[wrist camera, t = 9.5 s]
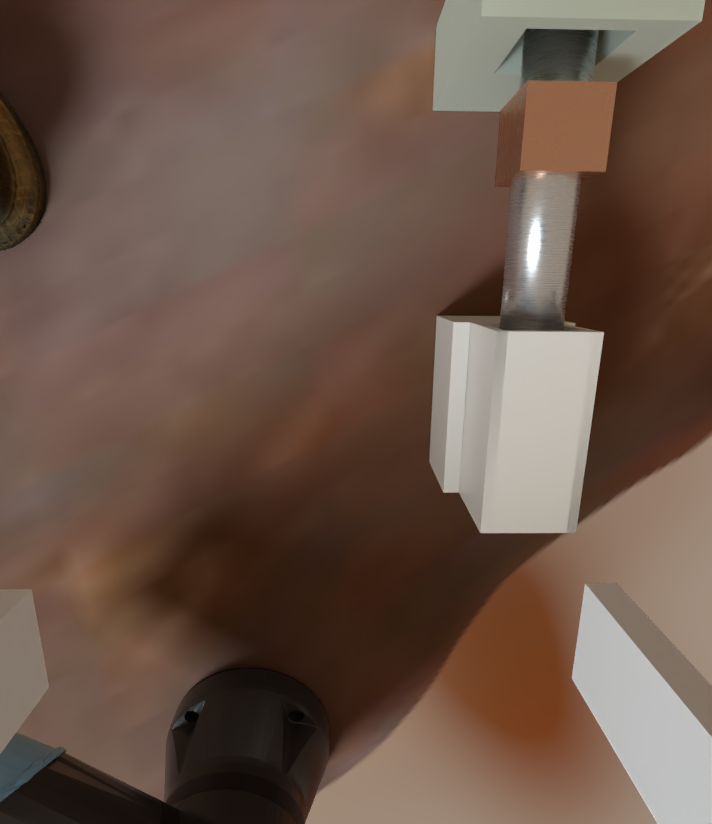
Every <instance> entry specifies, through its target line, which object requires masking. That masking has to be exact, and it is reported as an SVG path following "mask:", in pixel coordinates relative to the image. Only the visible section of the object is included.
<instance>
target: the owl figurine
mask: <svg viewBox="0 0 712 824" xmlns="http://www.w3.org/2000/svg"><path fill="white" fill-rule="evenodd" d="M45 198H46V185H45V177H44V172H43V169H42V166H41V162H40V159H39V157H38V155H37V153H36V151H35V148H34V146H33V143H32V141H31V138H30V137H29V136H28V133H27V132H26V130H25V128H24V126H23V124H22V123H21V122H20V120H19V119H18V117H17V115H16V113H15V112H14V111H13V110H12V108H11V106H10V105H9V104H8V103H7V102H6V100H5V99H4V98H3V96H2V95H1V94H0V250H6V249H9V248H13V247H14V246H16V245H17V244H19V243H20V242H21V241H22V240H24V239H25V238H26V236H27V237H28V235H30V233H32V231H33V230H34V229H35V227H36V226H37V225H38V223H39V220H40V218H41V216H42V214H43V209H44V202H45Z"/></svg>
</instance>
